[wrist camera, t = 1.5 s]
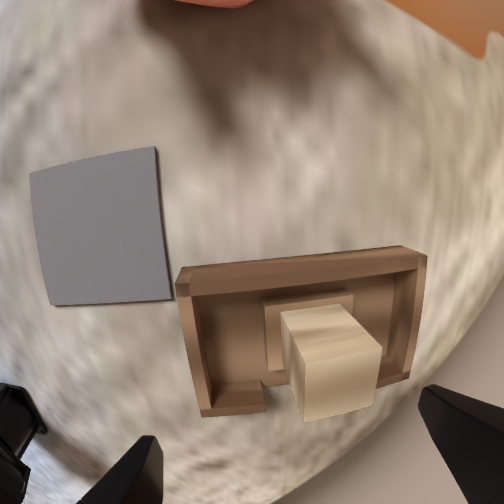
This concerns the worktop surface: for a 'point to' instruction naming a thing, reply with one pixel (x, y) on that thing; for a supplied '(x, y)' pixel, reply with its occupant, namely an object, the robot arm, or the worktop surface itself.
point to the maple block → (328, 361)
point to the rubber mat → (101, 229)
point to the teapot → (220, 3)
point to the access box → (288, 299)
